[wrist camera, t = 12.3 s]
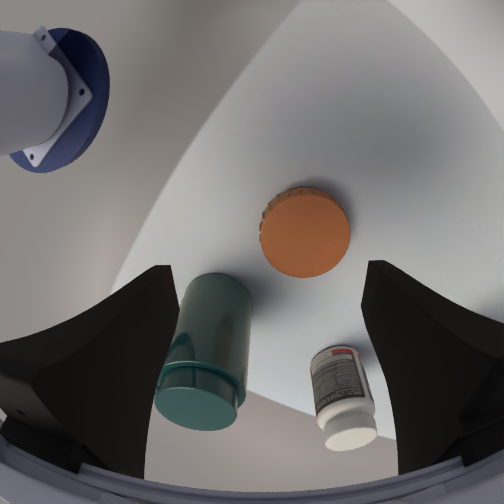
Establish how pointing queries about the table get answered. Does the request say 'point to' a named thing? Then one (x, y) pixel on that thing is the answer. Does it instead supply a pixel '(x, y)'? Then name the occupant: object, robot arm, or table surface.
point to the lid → (304, 232)
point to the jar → (207, 355)
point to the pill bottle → (343, 399)
